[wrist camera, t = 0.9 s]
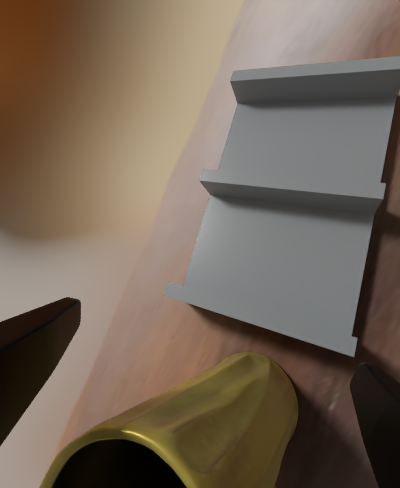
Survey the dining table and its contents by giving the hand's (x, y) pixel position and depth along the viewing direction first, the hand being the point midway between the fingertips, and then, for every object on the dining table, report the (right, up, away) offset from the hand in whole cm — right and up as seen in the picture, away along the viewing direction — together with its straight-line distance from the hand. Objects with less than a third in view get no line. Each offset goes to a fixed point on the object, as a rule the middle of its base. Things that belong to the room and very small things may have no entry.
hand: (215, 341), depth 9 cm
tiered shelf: (+6, +6, +13) cm, 15 cm away
